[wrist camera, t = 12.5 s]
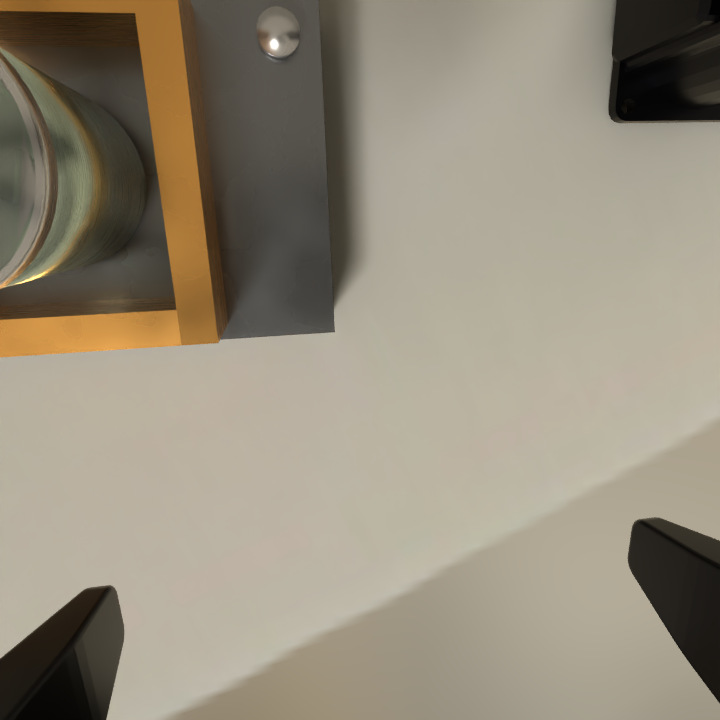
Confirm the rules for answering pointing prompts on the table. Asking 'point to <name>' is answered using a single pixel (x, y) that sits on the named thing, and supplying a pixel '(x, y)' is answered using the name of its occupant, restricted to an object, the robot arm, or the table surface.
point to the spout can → (61, 177)
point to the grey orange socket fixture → (189, 173)
